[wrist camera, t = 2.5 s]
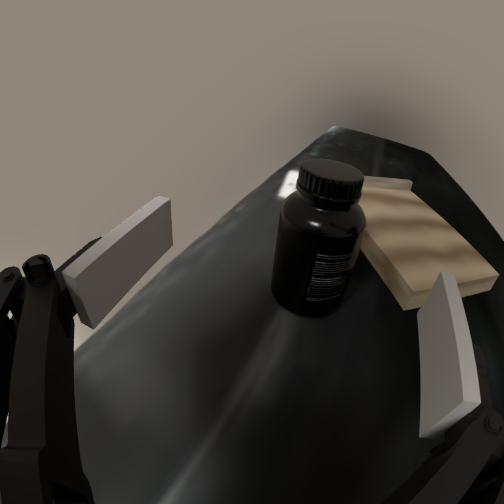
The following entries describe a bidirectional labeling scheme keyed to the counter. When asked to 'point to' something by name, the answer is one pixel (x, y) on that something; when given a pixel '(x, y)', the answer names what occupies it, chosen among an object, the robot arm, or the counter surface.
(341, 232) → the supplement bottle
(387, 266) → the shelf board
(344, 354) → the counter surface
